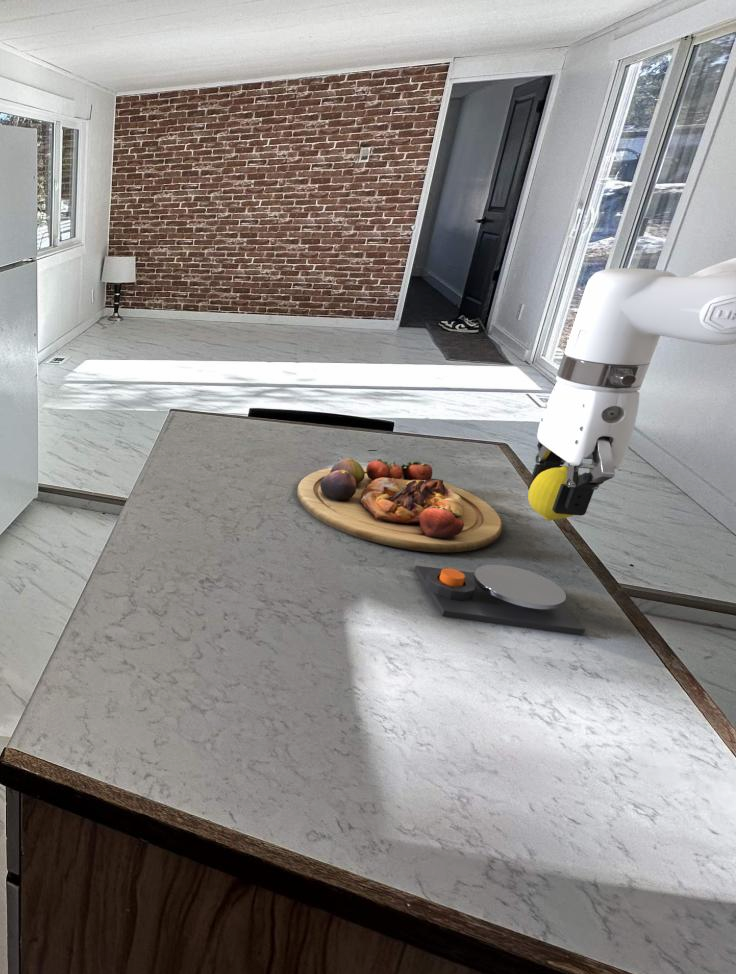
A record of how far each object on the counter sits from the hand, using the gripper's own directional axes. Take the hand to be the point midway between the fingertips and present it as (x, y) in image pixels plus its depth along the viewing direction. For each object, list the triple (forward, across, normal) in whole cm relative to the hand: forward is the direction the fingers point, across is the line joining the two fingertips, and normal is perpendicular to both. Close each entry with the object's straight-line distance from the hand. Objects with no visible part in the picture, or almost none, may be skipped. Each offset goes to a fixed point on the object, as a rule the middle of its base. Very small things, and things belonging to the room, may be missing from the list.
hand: (554, 501), depth 85 cm
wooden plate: (+19, +31, +7) cm, 37 cm away
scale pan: (+15, +2, 0) cm, 15 cm away
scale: (+19, +2, +2) cm, 19 cm away
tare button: (+16, +2, +8) cm, 17 cm away
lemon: (+3, 0, 0) cm, 3 cm away
